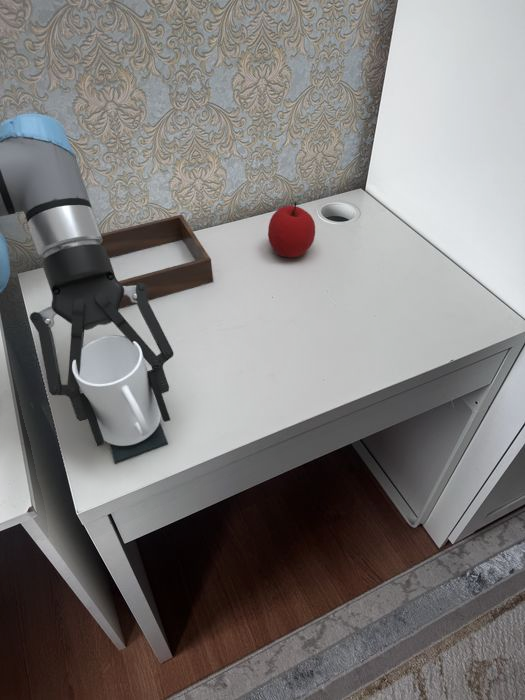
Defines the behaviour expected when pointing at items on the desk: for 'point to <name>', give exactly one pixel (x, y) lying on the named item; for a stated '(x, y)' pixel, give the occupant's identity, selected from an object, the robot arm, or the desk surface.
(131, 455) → the mat
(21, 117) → the robot arm
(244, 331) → the desk surface
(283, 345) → the desk surface
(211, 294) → the desk surface
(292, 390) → the desk surface
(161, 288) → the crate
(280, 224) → the apple
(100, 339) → the mug
